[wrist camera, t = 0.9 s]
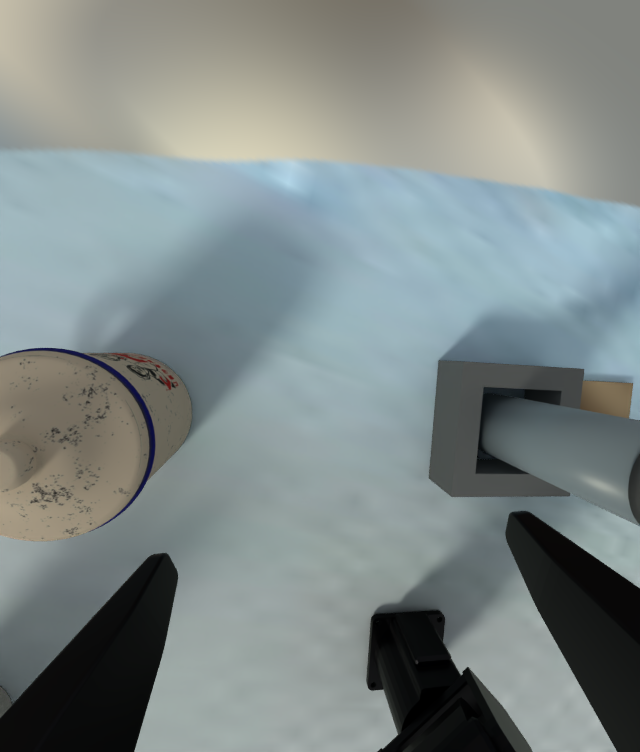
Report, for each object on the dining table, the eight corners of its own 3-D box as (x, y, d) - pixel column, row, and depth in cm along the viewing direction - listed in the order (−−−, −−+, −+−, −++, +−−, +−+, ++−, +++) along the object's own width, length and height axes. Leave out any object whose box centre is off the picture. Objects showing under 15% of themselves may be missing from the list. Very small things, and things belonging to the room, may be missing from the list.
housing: (533, 478, 28) (569, 496, 25) (428, 478, 27) (451, 496, 23) (545, 367, 28) (584, 369, 24) (438, 360, 26) (463, 361, 23)
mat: (616, 468, 29) (622, 470, 29) (540, 467, 28) (544, 469, 28) (627, 383, 29) (633, 383, 28) (549, 378, 28) (554, 379, 27)
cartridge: (512, 451, 28) (746, 549, 14) (457, 450, 27) (647, 553, 13) (518, 393, 28) (763, 434, 14) (462, 390, 27) (663, 431, 13)
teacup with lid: (203, 359, 24) (136, 365, 12) (189, 477, 24) (110, 591, 13) (24, 334, 22) (-255, 314, 10) (11, 462, 22) (-269, 580, 11)
